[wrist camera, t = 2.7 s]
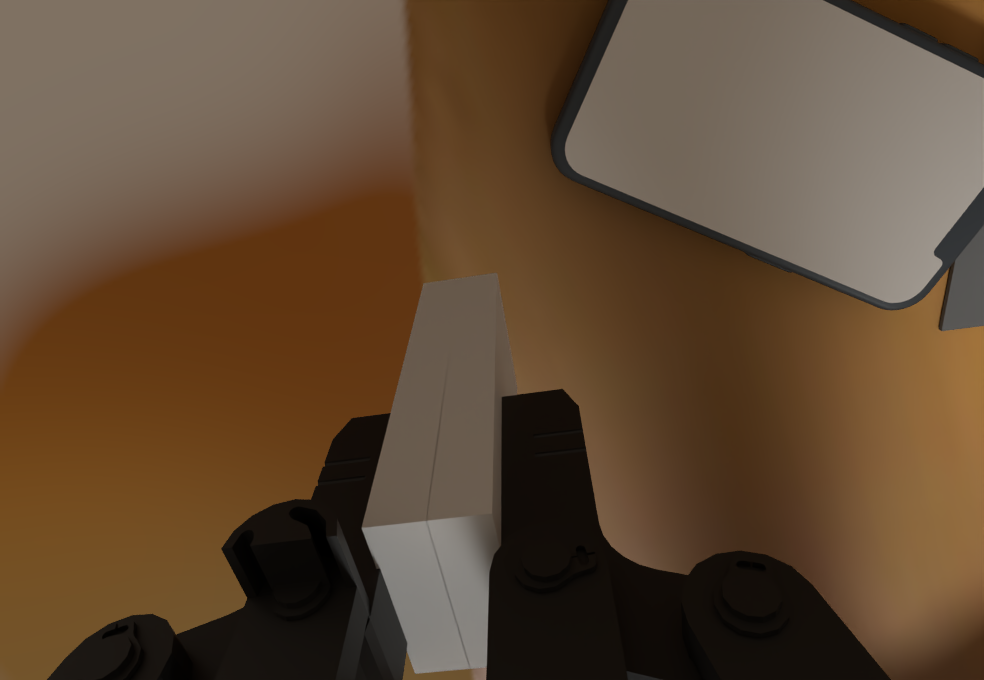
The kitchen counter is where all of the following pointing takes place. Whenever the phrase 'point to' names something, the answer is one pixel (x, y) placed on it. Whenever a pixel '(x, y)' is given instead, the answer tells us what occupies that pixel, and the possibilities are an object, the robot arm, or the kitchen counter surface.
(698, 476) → the kitchen counter surface
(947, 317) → the charging mat
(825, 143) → the phone case
